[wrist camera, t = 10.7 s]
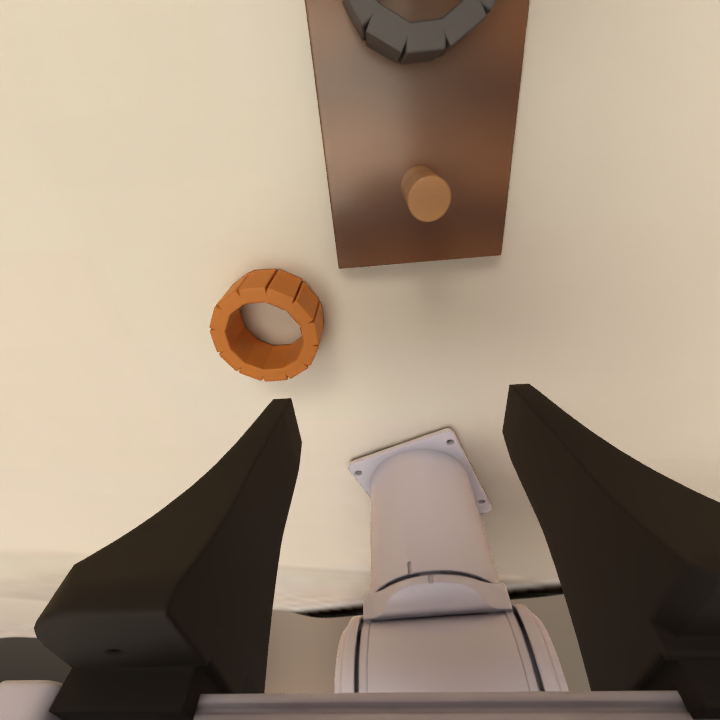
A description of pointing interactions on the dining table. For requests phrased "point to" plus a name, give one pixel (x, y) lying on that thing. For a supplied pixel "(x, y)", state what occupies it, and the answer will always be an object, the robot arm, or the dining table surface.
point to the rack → (417, 135)
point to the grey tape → (414, 29)
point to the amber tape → (256, 354)
